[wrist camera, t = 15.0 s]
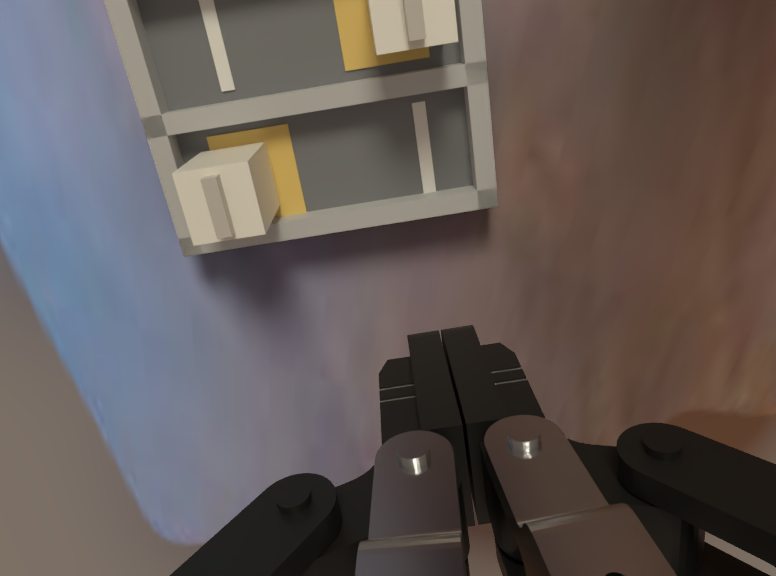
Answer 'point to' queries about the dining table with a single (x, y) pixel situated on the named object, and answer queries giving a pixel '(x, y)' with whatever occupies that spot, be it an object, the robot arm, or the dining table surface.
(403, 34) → the tab
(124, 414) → the dining table surface
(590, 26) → the dining table surface
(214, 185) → the tab
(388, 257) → the dining table surface
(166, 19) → the switch bank
